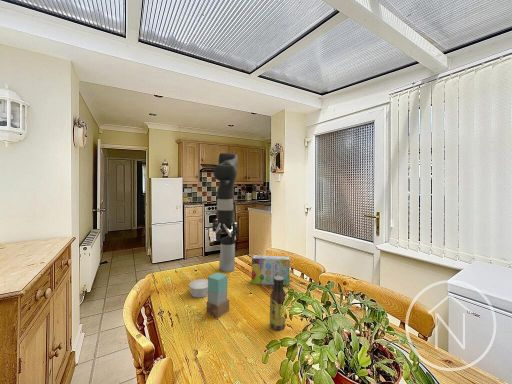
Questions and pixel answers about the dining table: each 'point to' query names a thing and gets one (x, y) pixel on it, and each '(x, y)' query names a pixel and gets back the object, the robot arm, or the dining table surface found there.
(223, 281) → the teal cube
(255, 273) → the snack box
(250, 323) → the dining table surface
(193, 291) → the ramekin
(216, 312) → the tower base
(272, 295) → the sauce bottle
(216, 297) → the block
